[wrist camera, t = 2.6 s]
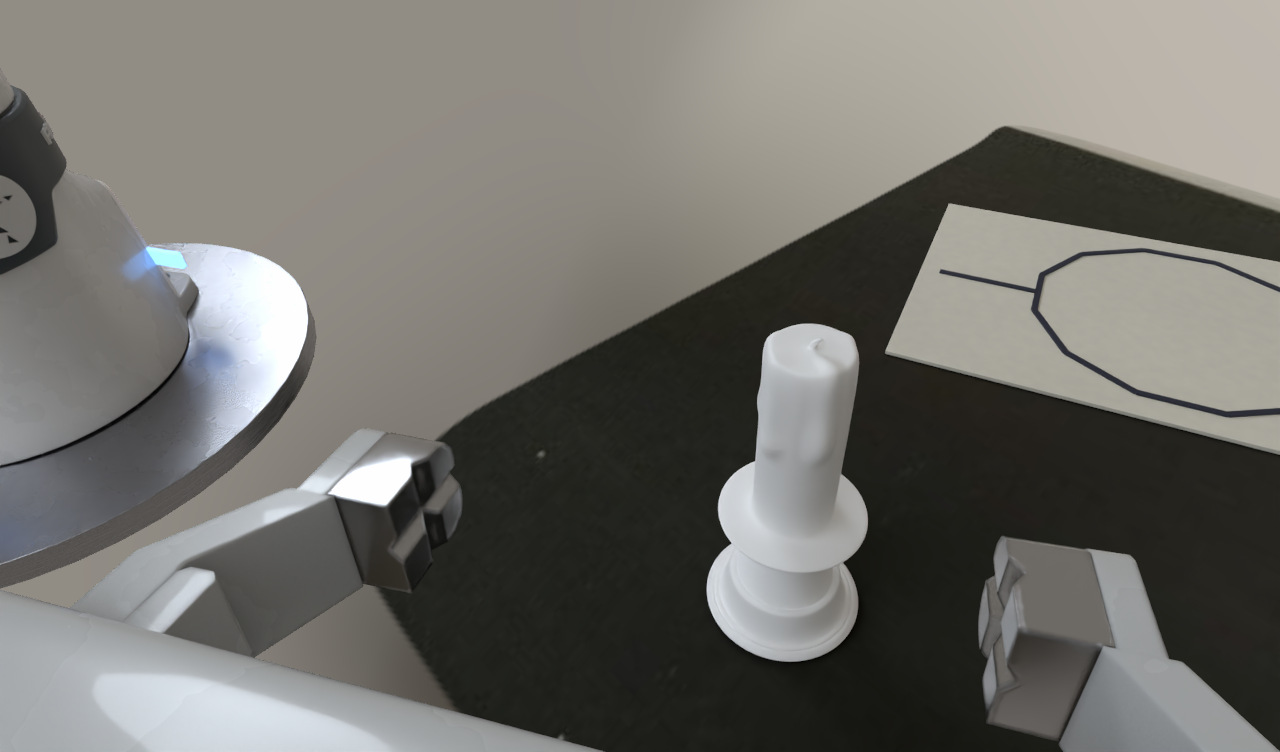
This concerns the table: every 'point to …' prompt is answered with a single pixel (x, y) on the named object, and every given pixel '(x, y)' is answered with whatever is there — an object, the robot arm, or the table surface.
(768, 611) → the candle
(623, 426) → the table surface
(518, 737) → the robot arm
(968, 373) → the sketch sheet
